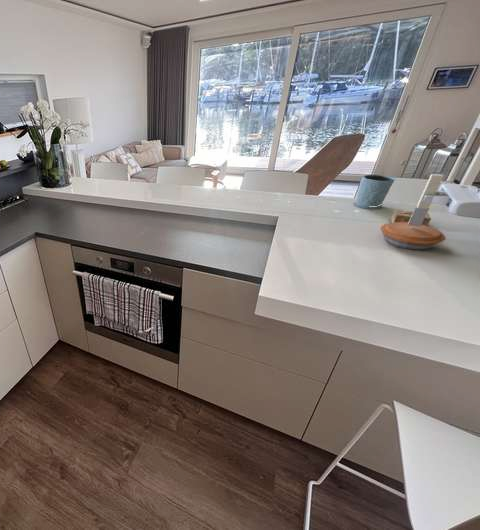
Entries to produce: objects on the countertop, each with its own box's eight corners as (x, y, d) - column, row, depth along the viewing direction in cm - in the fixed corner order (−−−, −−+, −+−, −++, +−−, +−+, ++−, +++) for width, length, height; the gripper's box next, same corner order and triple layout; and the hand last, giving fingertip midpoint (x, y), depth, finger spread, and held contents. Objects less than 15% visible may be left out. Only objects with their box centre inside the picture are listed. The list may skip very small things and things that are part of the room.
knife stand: (423, 223, 105) (428, 212, 103) (426, 229, 101) (431, 218, 99) (390, 219, 109) (395, 209, 107) (392, 225, 105) (396, 215, 103)
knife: (419, 225, 91) (444, 174, 83) (420, 227, 90) (445, 175, 82) (407, 223, 93) (429, 173, 85) (407, 225, 92) (430, 175, 84)
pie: (369, 231, 103) (374, 218, 100) (424, 233, 98) (431, 220, 95) (387, 250, 91) (393, 236, 88) (451, 255, 86) (460, 240, 83)
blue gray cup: (352, 200, 129) (361, 173, 123) (381, 202, 124) (392, 174, 118) (354, 208, 122) (364, 179, 116) (385, 210, 117) (397, 181, 111)
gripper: (486, 180, 85) (422, 177, 93) (511, 201, 71) (434, 195, 79) (474, 200, 89) (414, 196, 96) (497, 224, 75) (424, 217, 82)
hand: (423, 196), depth 87 cm, fingers closed on knife, 2 cm apart
